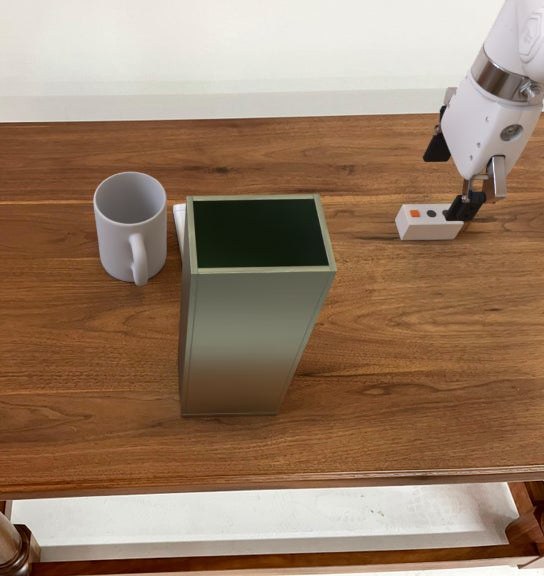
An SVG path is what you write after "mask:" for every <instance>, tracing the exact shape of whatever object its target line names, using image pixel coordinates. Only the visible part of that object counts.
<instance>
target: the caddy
mask: <svg viewBox="0 0 544 576" xmlns="http://www.w3.org/2000/svg"><path fill="white" fill-rule="evenodd" d="M185 203H186V209H185V227H184V246H183V263H182V267H181V268H182V269H181V284H180V304H179V324H178V342H177V370H178V371H177V372H178V376H177V377H178V395H179V397H178V399H179V417H180V418H203V417H204V418H206V417H207V418H208V417H213V418H214V417H250V416H251V417H253V416H254V417H257V416H278V414H279V411H280V409H281V406H282V404H283V403H284V402H283V401H284V399H285V397H286V394H287V392H288V390H289V388H290V385H291V382H292V380H293V377H294V376H295V373H296V371H297V368H298V366H299V363H300V361H301V358H302V356H303V354H304V352H305V349H306V347H307V345H308V342H309V340H310V337H311V335H312V333H313V330H314V328H315V325H316V323H317V321H318V318H319V315H320V313H321V312H322V308H323V306H324V304H325V301H326V299H327V298H328V294H329V292H330V289H331V288H332V285H333V282H334V280H335V278H336V276H337V273H338V268H337V264H336V259H335V254H334V251H333V246H332V242H331V238H330V234H329V228H328V224H327V221H326V217H325V212H324V208H323V207H324V206H323V204H322V199H321V195H320V193H299V194H297V193H293V194H288V193H287V194H236V195H233V194H232V195H231V194H230V195H228V194H227V195H186V196H185Z"/></svg>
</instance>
